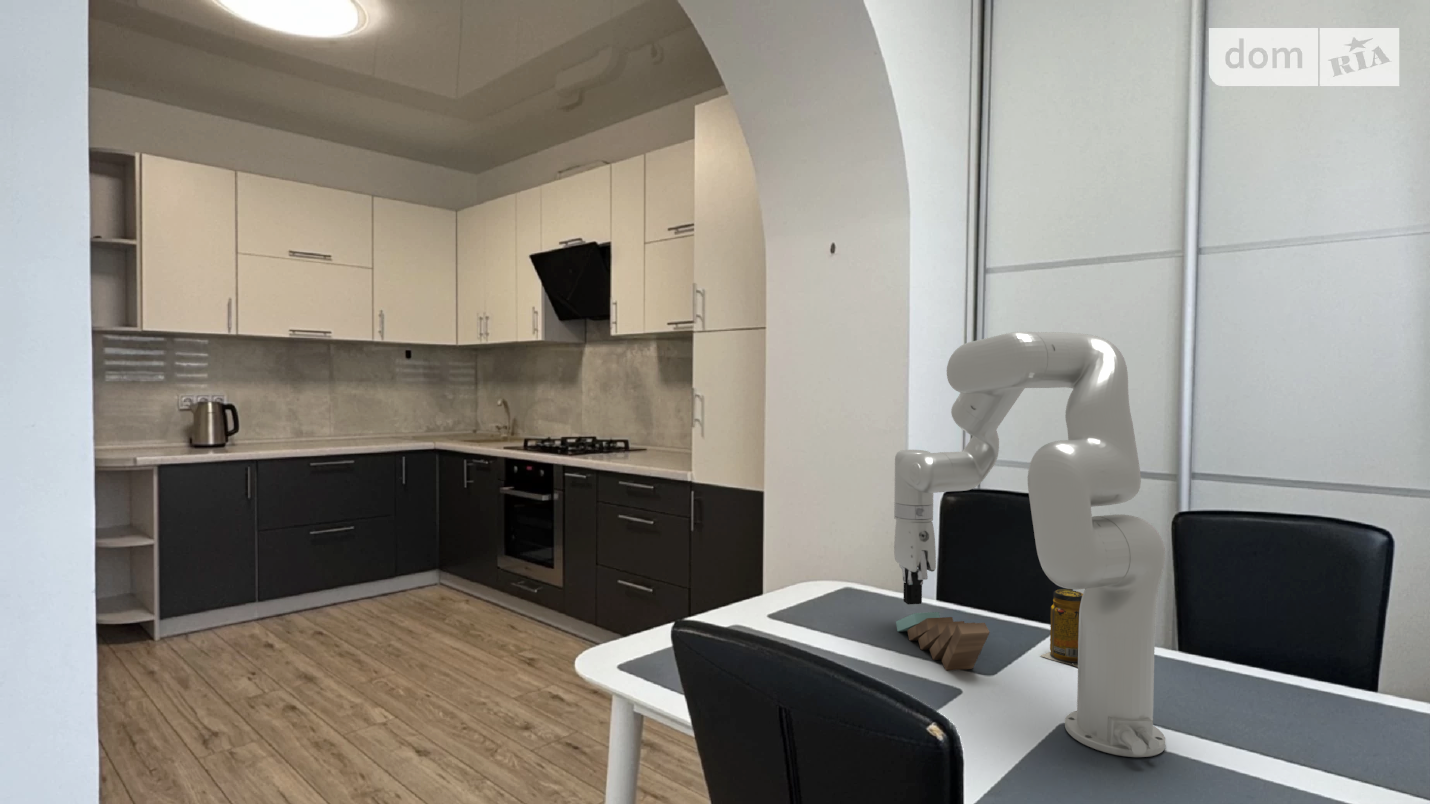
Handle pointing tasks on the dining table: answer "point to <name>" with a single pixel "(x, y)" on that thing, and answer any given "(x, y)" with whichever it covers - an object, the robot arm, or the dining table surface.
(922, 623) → the domino
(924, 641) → the domino
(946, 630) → the domino
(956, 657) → the domino
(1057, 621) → the condiment
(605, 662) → the dining table surface
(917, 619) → the domino
